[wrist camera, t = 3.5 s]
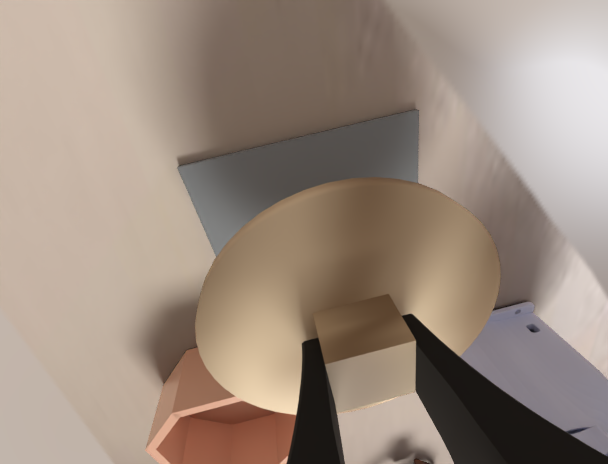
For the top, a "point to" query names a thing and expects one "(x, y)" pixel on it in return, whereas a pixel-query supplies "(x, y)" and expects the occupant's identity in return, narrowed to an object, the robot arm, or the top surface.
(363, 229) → the lid
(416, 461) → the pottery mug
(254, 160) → the mat
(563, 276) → the top surface
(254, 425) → the bowl
